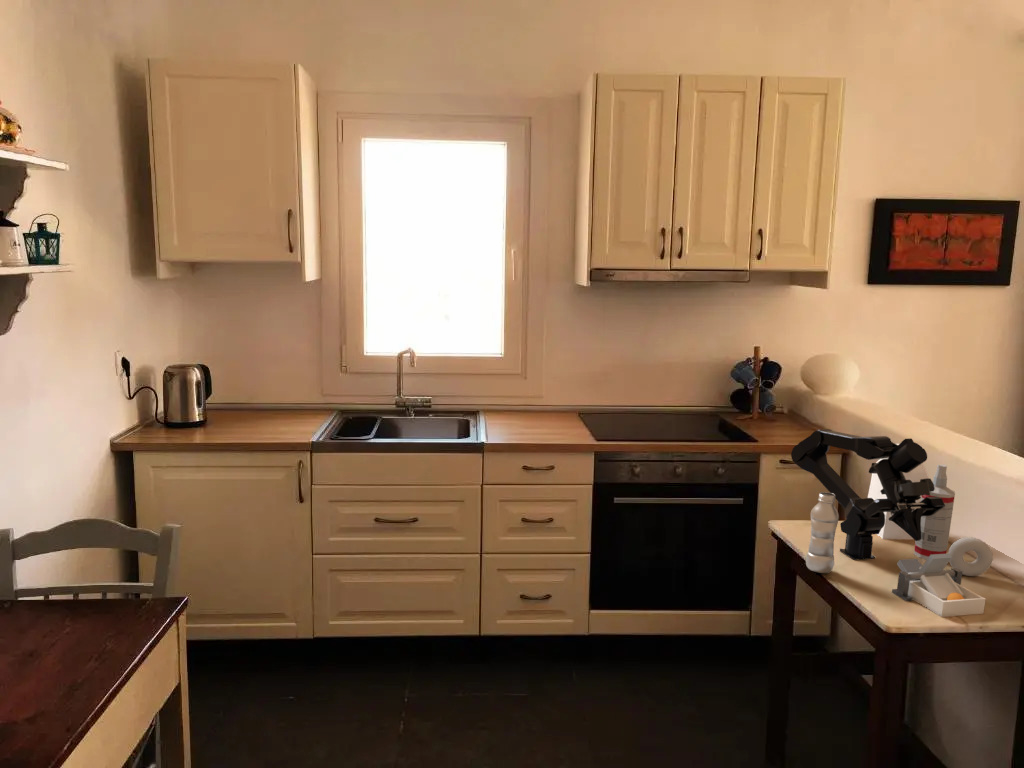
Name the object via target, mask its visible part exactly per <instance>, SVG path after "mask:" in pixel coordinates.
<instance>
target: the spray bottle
mask: <svg viewBox="0 0 1024 768" xmlns="http://www.w3.org/2000/svg"><path fill="white" fill-rule="evenodd" d="M947 467H948V465H947V464H937V465H936V471H935V472H934V475H933V478H932V482H933V484H934V491H932V492H930V495H922V496H921V501H922V500H923V499H925V498H926V497H940V498H942V500H943V502H944V504H945V507H944V508H942V509H941V510H939V511H938V512H936V513H935V514H934V515H931V516H921V540H919V541H915V540H914V541H915V542H914V549H913V555H915V556H917V557H918V558H919V559H923V560H925V561H926V560H927V559H928V558H929V556H930V555H933V554H948V547H949V546H948V545H949V538H950V531H951V523H952V518H953V511H954V503H955V496H956V492H955V490H953V489H950V488H949V487H948V486H947V483H948V476H947Z"/></svg>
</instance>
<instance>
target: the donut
mask: <svg viewBox="0 0 1024 768" xmlns="http://www.w3.org/2000/svg"><path fill="white" fill-rule="evenodd" d="M971 551H972V552H974V553H975V554H976V556H977V557H976V559H975V560H974V561H972V562H971V561H970V562H969V561H965V559H964V555H965V554H966V553H967V552H971ZM947 554H950V556H951V557H952V558H951V560H950V561H949V562H948V563H949V565H950V566H951V568H957V569H959V570H961V571H963V572H962V576H967V577H976V576H980V575H982V574H984V573H986V572H987V571H988V570H989V568H991V566H992V564H993V561H994V559H993V551H992V550H991V547H990V546H989V545H988V544H987V543H986V542H985V541H983V540H982V539H980V538H976V537H973V536H969V537H968V536H967V537H966V536H964V537H962V538H959V539H957V540H955V541H954V542H953V543H952V544H951V546H950V547H949V549H948V551H947Z"/></svg>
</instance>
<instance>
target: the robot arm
mask: <svg viewBox="0 0 1024 768" xmlns="http://www.w3.org/2000/svg"><path fill="white" fill-rule="evenodd" d="M897 444H899V445H897ZM830 447H834V448H839V449H842V450H847V451H851V452H853V453H855V454H856V456H858V457H860V458H863V459H864V460H869V461H871V460H880V459H882V460H880V461H879V462H878V463H876V462H872V463H871V466H870V467H869V469H868V474H872V473H875V474H877V475H878V477H879V480H880V482H881V485H882V487H883V489H882V490H881V494H886V496H887V499H876V500H873V499H872V498H868V497H866V498H861V496H859V494H857V493H856V491H854V490H853V489H852V487H851V486H850V485H849V484H848V483H847V482H846V480H844V479H843V478H842V477H841V476H840V475H839V474H838V472H836V471H835V469H833V468H832V466H831V465H830V464H829V463H828V456H827V453H828V452H829V450H830ZM790 455H791V456H790V457H791V460H792V462H793V463H794V464H795V465H796V466H797V467H798V468H800V469H801V470H803V471H805V472H807V473H810V474H812V475H814V477H815V478H816V479H817V480H818V481H819V482H820V484H822V486H824V488H825V489H826V490H827V492H828V493H832V494H835V501H836V502H838V503H839V504H840V505H841V506H842V507H843V509H844V511H845V512H844V513H845V518H846V519H845V520H843V521H842V522H840V531H841V532H842V533H844V534H846V538H845V547H844V548H840V549H839V552H841V553H842V554H844V555H846V556H847V557H848V558H850V559H852V560H854V561H859V560H875V559H876V556H875V555H873V554H872V552H873V551H872V550H873V537H874V535H876V534H879V532H880V530H881V529H882V528H883V527H884V524H885V514H884V512H890V513H891V517H890V518H889V521H893V522H894V523H895V524H897V525H898V526H899V527H901V528H902V529H903V530H904V531H905V532H906V533H908V534H909V535H910V536H911V537H912V538H913V539H912V540H914V541H919V540H921V516H931V515H934V514H935V513H936V512H938V511H939V510H941V509H942V508H944V507H945V504H944V502H943V500H942V498H940V497H926V498H925V499H923V500H922V501H921V502H919V503H916V502H915V501H916V500H919V499H920V498H921V497H920V496H921V495H930V492H932V491H934V484H933V479H931V477H930V478H929V477H928V479H921V480H920V482H912V481H910V480H906V478H905V476H904V474H903V472H904V473H908V472H910V471H912V470H913V469H915V468H916V467H918V466H919V465H921V464H922V463H923V464H924V463H925V462H926V461H927V460H928V453H927V451H926V450H925V448H923V447H922V446H921V445H920V444H918V443H916V442H914V440H913V439H912V438H904V439H903V440H902V441H900V443H895V442H893V441H892V440H891V438H890V437H889V436H886V435H883V436H881V435H880V436H876V435H875V436H859V435H855V434H850V433H845V432H841V431H834V430H831V429H829V428H827V429H825V428H824V429H816V430H814V431H813V432H811V434H810V435H809V436H807V437H806V438H804V439H803V440H801V441H800V442H799V443H797V444H796V445H795V446H793V448H792V451H791V453H790ZM885 458H888V459H885Z"/></svg>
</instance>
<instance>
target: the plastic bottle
mask: <svg viewBox="0 0 1024 768" xmlns="http://www.w3.org/2000/svg"><path fill="white" fill-rule="evenodd" d="M817 501H818V503H817V504H816V505H814V506H813V507H812V509H811V511H810V539H809V544H808V551H807V552H806V553H807V554H806V557H805V565H806V567H807V569H808V570H809V571H812V572H815V573H818V574H829V573H831V572H832V571H833V569H834V566H835V555H834V551H835V550H834V548H835V546H834V544H835V542H834V541H835V537H836V530H837V527H838V523H839V519H840V514H839V512H838V510H837V508H836V506H835V504H836V499H835V494H832V493H830V492H829V491H827V492H826V491H822V492H821V491H820V492H819V493H818V498H817Z"/></svg>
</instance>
